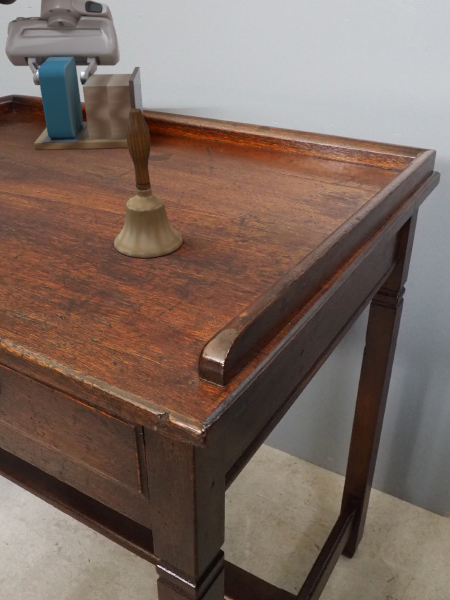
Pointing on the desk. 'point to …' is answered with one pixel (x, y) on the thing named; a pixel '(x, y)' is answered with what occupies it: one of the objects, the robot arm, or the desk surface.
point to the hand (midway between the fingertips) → (61, 83)
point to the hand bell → (144, 203)
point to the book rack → (102, 113)
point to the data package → (60, 97)
